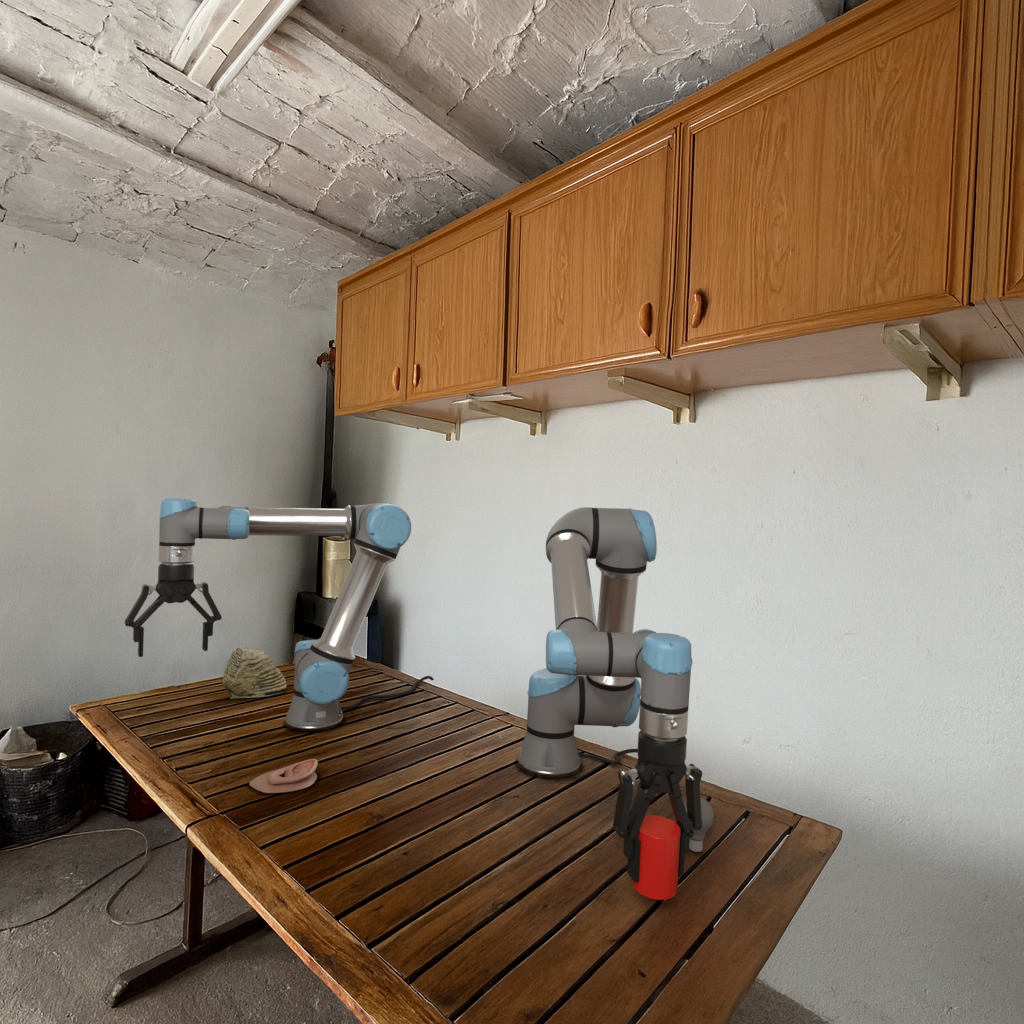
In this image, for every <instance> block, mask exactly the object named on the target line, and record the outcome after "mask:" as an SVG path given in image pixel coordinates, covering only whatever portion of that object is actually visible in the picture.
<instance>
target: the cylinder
mask: <svg viewBox="0 0 1024 1024" xmlns="http://www.w3.org/2000/svg"><path fill="white" fill-rule="evenodd" d="M680 832H681V830H680V827H679V826H678V824H677V822H676V821H675V820H672V819H670V818H668V817H665V816H662V815H656V814H646V815H645V817H644V820H643V822H642V825H641V827H640V830H639V832H638V835H637V837H638V838H639V840H640V841H641V846H640V865H639V882H634V881H633V880H632V879H631V885H632V887H633V889H635V891H636V892H637V893H638V894H640V895H642V896H644V897H646V898H649V899H652V900H658V901H664V900H669V899H672V898H674V897H675V896H676V895H677V893H678V883H679V876H678V868H679V850H680Z"/></svg>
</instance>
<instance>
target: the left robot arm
mask: <svg viewBox="0 0 1024 1024" xmlns="http://www.w3.org/2000/svg"><path fill="white" fill-rule="evenodd" d="M411 533H412V522H411V518H410V516H409V514H408V513H407V512H406V510H404V509H403V508H402V507H401V506H398V505H397V504H393V503H391V502H374V503H367V504H359V505H358V504H357V505H350V504H349V505H348V504H347V506H345V507H344V508H315V507H311V508H310V507H304V508H303V507H263V506H261V507H259V506H258V507H257V506H255V507H253V506H246V507H244V506H230V505H223V506H219V507H201V506H198V505H197V500H196V499H194V498H179V497H178V498H177V497H175V498H174V497H167V498H164V499H163V500H162V501H161V503H160V514H159V534H158V535H159V536H158V538H159V541H158V562H159V563H160V564H159V565H158V566H157V567H158V568H157V583H156V585H149V584H146V583H144V584H142V586H141V591H140V594H139V596H138V598H137V600H135V603H134V605H133V606H132V608H131V609H130V611H129V613H128V615H127V616H126V617H125V619H124V622H123V623H124V624H125V626H126V627H130V628H132V629H133V630H132V640H133V642H134V643H138V646H137V655H138V657H139V658H144V639H145V638H144V636H145V628H144V626H143V625H144V624H145V622H147V620H149V619H150V617H151V616H152V615H153V614H154V613H155V612H156V611H157V610H158V609H159V608H160V607H161V606H163V604H164V603H166V604H176V603H178V604H183V603H185V602H188V603H189V604H190V605H191V606H192V607H193V608H194V609H195V610H196V611H197V612H198V613H199V614H200V615H201V616H202V617H203V619H204V620H205V621H204V622H202V643H201V645H202V646H201V647H202V648H201V649H202V650H203V652H208V651H209V637H213V635H214V623H215V622H218V621H221V620H222V614H221V612H220V610H219V609H218V606H217V605H216V603H215V601H214V599H213V598H212V595H211V593H210V591H209V584H208V583H207V582H205V581H202V582H201V583H195V565H194V564H193V563H194V562H195V553H196V552H195V551H196V550H195V549H196V539H199V540H202V539H209V540H211V539H212V540H232V541H235V540H246V539H248V538H249V536H271V537H272V536H273V537H275V536H276V537H278V536H281V537H282V536H283V537H284V536H286V537H290V536H294V537H300V536H301V537H302V536H303V537H344V538H345V539H346V540H348V541H349V540H354V542H353V546H354V548H355V550H356V553H355V555H354V558H353V561H352V562H351V565H350V567H349V569H348V572H347V574H346V577H345V580H344V581H343V584H342V586H341V589H340V591H339V594H338V595H337V599H336V601H335V603H334V605H333V608H332V610H331V612H330V615H329V617H328V620H327V622H326V624H325V627H324V629H323V632H322V634H321V637H319V638H318V639H307V640H301V641H298V642H297V643H295V648H294V649H295V650H294V672H293V673H294V674H293V675H294V679H293V695H292V696H293V697H292V699H291V702H290V704H289V708H288V711H287V713H286V715H285V726H286V728H287V729H289V730H291V731H294V732H295V731H296V732H301V733H316V732H325V731H329V730H332V729H335V728H337V727H339V726H340V725H342V723H343V722H344V714H343V711H345V710H351V709H355V708H356V707H358V706H359V705H361V704H362V703H363V702H366V701H369V700H375V699H376V700H377V699H390V698H395V697H402V696H405V695H408V694H411V693H412V692H414V691H415V690H416V687H417V686H418V685H419V684H420V683H422V682H424V681H425V680H428V679H429V680H430V681H435V679H434V678H433V676H431V675H425V676H422V678H420V679H418V680H417V681H415V682H414V683H413V685H412V688H411V689H408V690H405V691H401V692H397V693H390V694H389V693H388V694H377V695H369V696H365V697H362V698H360V699H359V700H358V701H357V702H355V703H354V704H350V705H343V706H341V702H340V699H342V698H343V696H344V695H345V694H346V692H347V690H348V687H349V685H350V683H349V682H350V676H349V674H350V672H351V669H352V667H353V665H354V663H355V662H354V661H355V659H356V655H355V653H354V646H355V643H356V642H357V639H358V636H359V634H360V632H361V629H362V626H363V625H364V622H365V619H366V617H367V614H368V612H369V610H370V607H371V605H372V602H373V600H374V597H375V595H376V593H377V590H378V588H379V586H380V583H381V581H382V578H383V577H384V573H385V571H386V569H387V566H388V565H389V564H390V563H393V562H394V561H396V559H397V557H398V555H399V553H400V550H401V547H402V546H404V545H405V544H406V543H407V542H408V540H409V538H410V536H411ZM196 590H198V592H199V593H201V594H202V596H203V598H204V600H205V602H206V604H207V605H208V607H209V609H210V611H211V613H212V615H210V614H209V613H208V612H207V611H206V610H205V609H204V608H203V607H202V606H201V604H200V603H198V601H197V600H196V599H195V598H194V597H193V596H192V594H193V593H194V592H195V591H196ZM154 591H155V592H156V593H157V595H158V596H157V597H156V598H155V600H154V601H153V602H152V603H151V604H150V605H149V606H148V608H146V610H144V612H142V614H140V616H139V617H138V618H137V619H136V617H137V615H139V612H140V611H141V609H142V607H143V606H144V604H145V602H146V601H147V599H148V596H149V595H152V594H153V592H154ZM135 619H136V620H135Z"/></svg>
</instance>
